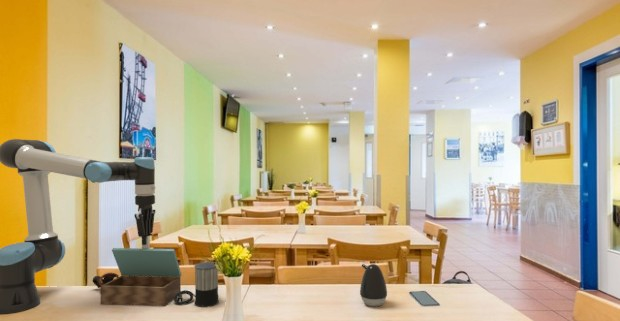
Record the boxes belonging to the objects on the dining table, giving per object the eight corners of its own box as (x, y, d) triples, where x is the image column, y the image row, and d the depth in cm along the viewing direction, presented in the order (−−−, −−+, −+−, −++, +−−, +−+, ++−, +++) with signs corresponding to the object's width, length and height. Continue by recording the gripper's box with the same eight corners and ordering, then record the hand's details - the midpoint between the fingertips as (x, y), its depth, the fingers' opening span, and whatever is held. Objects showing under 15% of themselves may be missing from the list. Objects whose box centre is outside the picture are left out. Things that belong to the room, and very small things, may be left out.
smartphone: (421, 305, 148) (408, 291, 163) (421, 308, 148) (408, 293, 163) (440, 304, 149) (425, 290, 164) (440, 307, 149) (425, 293, 164)
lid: (111, 250, 161) (113, 247, 162) (121, 275, 167) (123, 273, 168) (173, 251, 158) (174, 248, 159) (180, 277, 164) (181, 274, 166)
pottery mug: (124, 286, 177) (124, 273, 173) (113, 302, 168) (114, 288, 165) (97, 280, 176) (97, 266, 172) (85, 296, 167) (85, 282, 164)
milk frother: (222, 304, 152) (221, 265, 152) (180, 312, 144) (179, 272, 144) (211, 293, 164) (210, 258, 164) (171, 301, 156) (171, 263, 156)
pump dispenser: (370, 297, 158) (370, 259, 158) (392, 303, 151) (392, 264, 151) (354, 304, 151) (353, 264, 151) (376, 311, 144) (376, 269, 144)
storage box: (100, 304, 153) (100, 286, 153) (121, 292, 167) (121, 275, 167) (164, 306, 150) (164, 287, 150) (180, 293, 164) (180, 277, 164)
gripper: (145, 196, 155) (146, 256, 156) (161, 193, 168) (161, 248, 168) (127, 196, 156) (128, 256, 156) (144, 193, 169) (145, 248, 169)
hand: (145, 252), depth 162 cm, fingers closed
